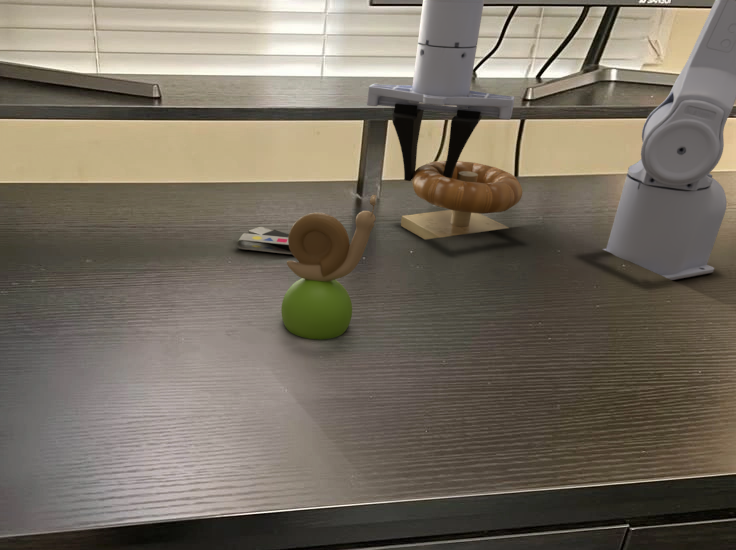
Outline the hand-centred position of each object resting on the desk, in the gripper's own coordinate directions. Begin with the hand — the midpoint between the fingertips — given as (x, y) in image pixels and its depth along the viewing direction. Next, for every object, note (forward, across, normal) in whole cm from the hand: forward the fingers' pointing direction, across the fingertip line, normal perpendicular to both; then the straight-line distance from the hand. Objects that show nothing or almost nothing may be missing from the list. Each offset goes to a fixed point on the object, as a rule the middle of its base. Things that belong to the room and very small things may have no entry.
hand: (427, 180), depth 80 cm
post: (+5, +4, 0) cm, 7 cm away
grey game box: (+5, -12, -13) cm, 19 cm away
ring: (0, +4, 0) cm, 4 cm away
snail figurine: (+6, -2, -30) cm, 31 cm away
